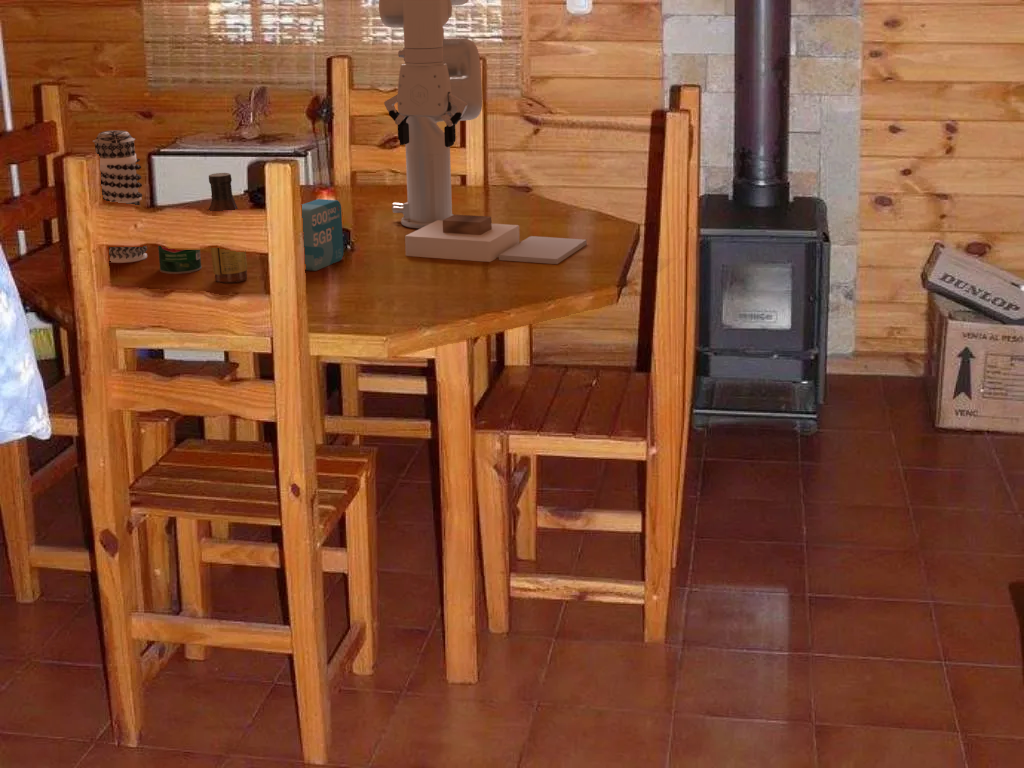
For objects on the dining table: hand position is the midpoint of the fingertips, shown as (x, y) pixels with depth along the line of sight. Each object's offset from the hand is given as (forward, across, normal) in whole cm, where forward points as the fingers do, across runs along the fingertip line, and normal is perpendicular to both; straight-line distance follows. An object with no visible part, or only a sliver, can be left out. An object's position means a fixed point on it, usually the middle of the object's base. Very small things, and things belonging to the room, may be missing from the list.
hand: (426, 145), depth 294 cm
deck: (+21, +7, 0) cm, 22 cm away
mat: (+21, +23, +3) cm, 31 cm away
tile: (+17, +8, 0) cm, 19 cm away
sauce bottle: (+21, -25, -36) cm, 48 cm away
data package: (+21, -15, -20) cm, 33 cm away
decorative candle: (+21, -55, -25) cm, 64 cm away
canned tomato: (+21, -39, -30) cm, 54 cm away
